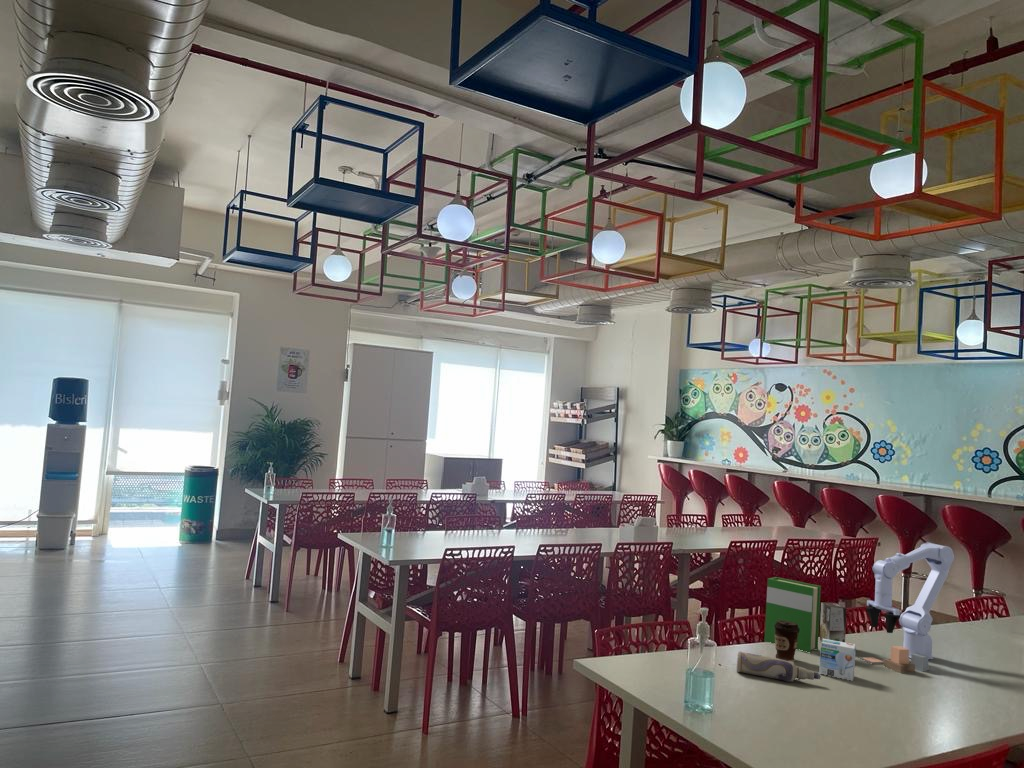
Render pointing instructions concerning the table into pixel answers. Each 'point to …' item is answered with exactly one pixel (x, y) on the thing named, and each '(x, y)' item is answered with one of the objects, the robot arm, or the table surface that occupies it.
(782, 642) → the coffee cup
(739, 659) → the decorative bottle
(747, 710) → the table surface
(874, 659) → the swatch
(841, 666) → the light bulb box
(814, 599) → the hardback book
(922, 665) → the slate block
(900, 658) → the terracotta block
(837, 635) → the coffee box
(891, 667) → the walnut slab
